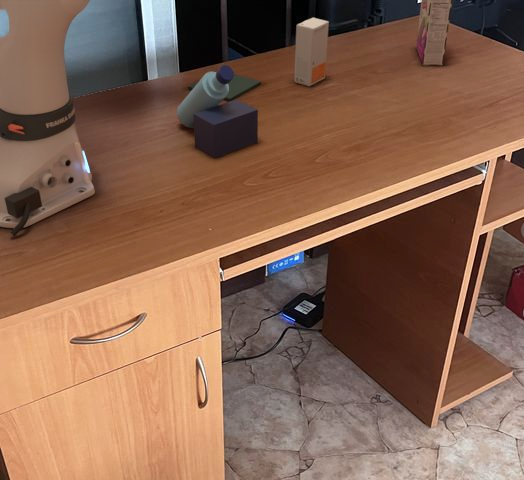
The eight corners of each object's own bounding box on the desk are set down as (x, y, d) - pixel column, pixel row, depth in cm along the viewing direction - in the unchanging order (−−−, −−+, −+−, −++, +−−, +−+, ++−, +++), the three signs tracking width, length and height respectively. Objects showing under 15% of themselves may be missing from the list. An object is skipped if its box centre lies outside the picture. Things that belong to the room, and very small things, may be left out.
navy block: (194, 146, 143) (193, 113, 139) (237, 131, 148) (236, 99, 144) (214, 158, 140) (213, 124, 136) (257, 142, 145) (257, 109, 141)
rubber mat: (230, 101, 159) (230, 98, 159) (187, 88, 164) (187, 86, 163) (260, 84, 166) (261, 81, 166) (219, 72, 171) (219, 69, 170)
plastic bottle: (173, 124, 150) (168, 48, 141) (195, 117, 153) (191, 41, 144) (220, 151, 142) (218, 72, 133) (242, 143, 145) (242, 65, 135)
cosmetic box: (310, 87, 165) (312, 28, 157) (293, 82, 167) (295, 24, 159) (326, 78, 168) (329, 20, 161) (309, 73, 170) (312, 16, 163)
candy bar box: (414, 48, 183) (423, -28, 172) (435, 48, 183) (446, -28, 172) (420, 66, 174) (431, -13, 164) (443, 66, 174) (455, -12, 164)
